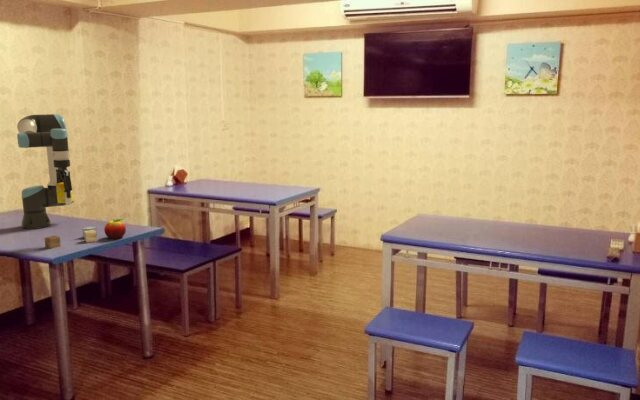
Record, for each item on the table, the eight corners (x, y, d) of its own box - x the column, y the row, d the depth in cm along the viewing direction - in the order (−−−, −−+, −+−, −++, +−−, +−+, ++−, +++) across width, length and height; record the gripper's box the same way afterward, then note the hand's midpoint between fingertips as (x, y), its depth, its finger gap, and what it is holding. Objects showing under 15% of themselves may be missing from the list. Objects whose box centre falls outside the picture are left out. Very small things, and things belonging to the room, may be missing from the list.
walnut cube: (45, 247, 262) (44, 237, 261) (54, 245, 266) (53, 235, 265) (51, 248, 260) (50, 238, 259) (60, 246, 264) (59, 236, 263)
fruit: (102, 237, 281) (100, 219, 279) (123, 234, 287) (121, 216, 285) (108, 241, 272) (106, 222, 270) (129, 237, 279) (127, 219, 277)
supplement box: (62, 202, 273) (60, 181, 271) (74, 202, 274) (72, 181, 272) (57, 204, 267) (55, 183, 265) (69, 204, 268) (67, 183, 266)
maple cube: (84, 240, 274) (84, 231, 274) (95, 239, 277) (94, 230, 276) (86, 242, 270) (85, 233, 269) (97, 241, 273) (96, 231, 272)
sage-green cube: (83, 237, 281) (82, 228, 280) (89, 235, 285) (88, 226, 284) (90, 238, 279) (90, 229, 278) (97, 235, 284) (96, 227, 283)
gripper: (47, 158, 271) (51, 201, 275) (60, 161, 256) (65, 206, 260) (62, 157, 276) (66, 199, 280) (76, 160, 261) (80, 204, 265)
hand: (65, 202), depth 270 cm, fingers closed on supplement box, 8 cm apart
